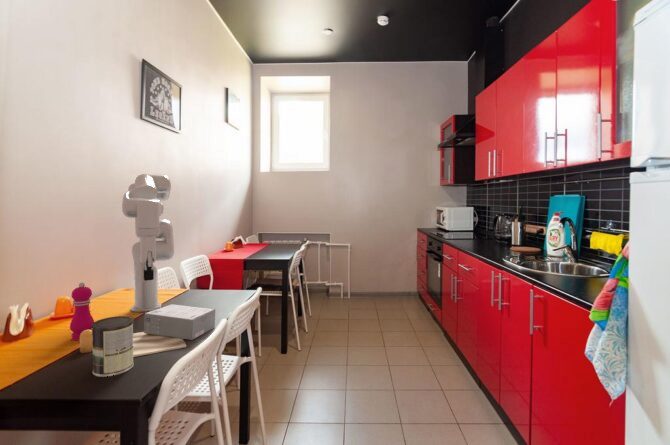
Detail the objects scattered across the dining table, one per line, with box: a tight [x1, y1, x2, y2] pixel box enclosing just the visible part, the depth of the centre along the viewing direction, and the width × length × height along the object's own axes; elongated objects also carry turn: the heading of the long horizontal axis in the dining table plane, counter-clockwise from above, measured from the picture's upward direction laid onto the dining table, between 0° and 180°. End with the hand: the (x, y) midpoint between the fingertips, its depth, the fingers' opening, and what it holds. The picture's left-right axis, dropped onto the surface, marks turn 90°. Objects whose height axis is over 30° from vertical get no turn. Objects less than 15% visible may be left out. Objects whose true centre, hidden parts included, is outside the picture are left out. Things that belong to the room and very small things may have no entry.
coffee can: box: [91, 315, 134, 378], centre depth 102 cm, size 10×10×14 cm
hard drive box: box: [143, 303, 216, 341], centre depth 133 cm, size 16×8×20 cm
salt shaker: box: [79, 329, 93, 354], centre depth 115 cm, size 4×4×7 cm
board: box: [133, 331, 187, 358], centre depth 123 cm, size 22×18×1 cm
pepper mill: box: [69, 282, 95, 341], centre depth 126 cm, size 7×7×20 cm
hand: (148, 279), depth 134 cm, fingers closed
